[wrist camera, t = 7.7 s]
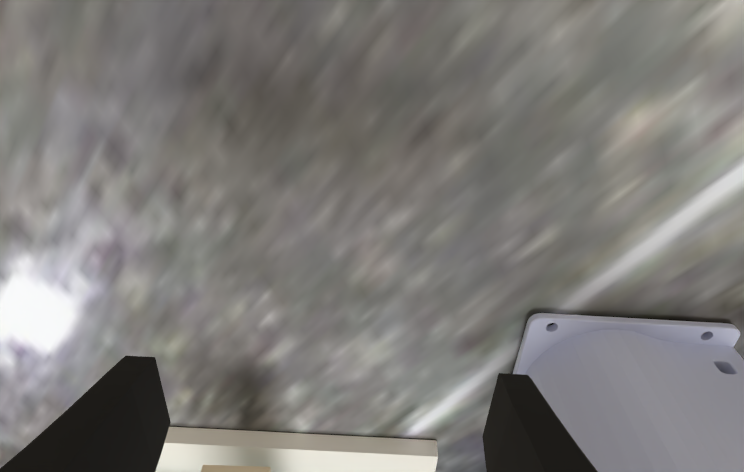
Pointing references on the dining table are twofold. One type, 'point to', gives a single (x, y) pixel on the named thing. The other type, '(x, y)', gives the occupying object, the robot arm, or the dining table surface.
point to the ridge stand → (293, 452)
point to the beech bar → (234, 468)
